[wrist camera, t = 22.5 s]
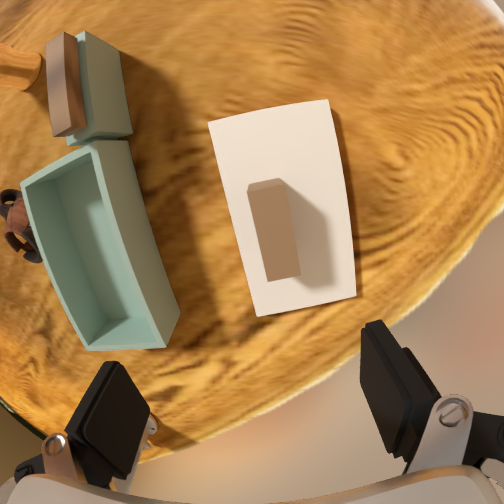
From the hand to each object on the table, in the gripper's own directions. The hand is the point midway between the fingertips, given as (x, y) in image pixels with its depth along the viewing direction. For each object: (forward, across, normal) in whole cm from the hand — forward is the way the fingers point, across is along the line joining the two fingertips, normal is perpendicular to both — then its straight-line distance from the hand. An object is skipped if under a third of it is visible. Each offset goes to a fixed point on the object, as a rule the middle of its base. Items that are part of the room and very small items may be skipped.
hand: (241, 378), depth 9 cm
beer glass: (+22, +26, -31) cm, 46 cm away
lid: (+22, -5, -1) cm, 23 cm away
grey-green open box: (+22, +16, -8) cm, 29 cm away
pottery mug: (+23, +28, -9) cm, 37 cm away
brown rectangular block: (+14, +12, -19) cm, 26 cm away
